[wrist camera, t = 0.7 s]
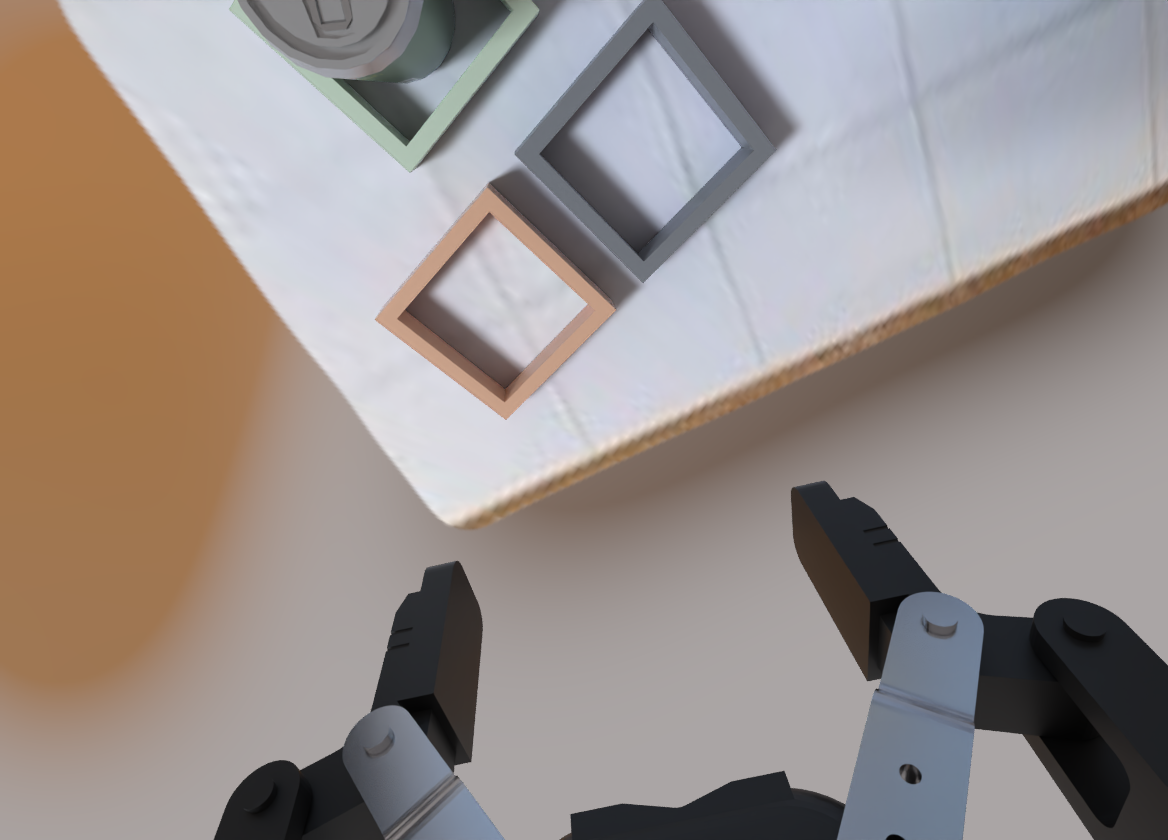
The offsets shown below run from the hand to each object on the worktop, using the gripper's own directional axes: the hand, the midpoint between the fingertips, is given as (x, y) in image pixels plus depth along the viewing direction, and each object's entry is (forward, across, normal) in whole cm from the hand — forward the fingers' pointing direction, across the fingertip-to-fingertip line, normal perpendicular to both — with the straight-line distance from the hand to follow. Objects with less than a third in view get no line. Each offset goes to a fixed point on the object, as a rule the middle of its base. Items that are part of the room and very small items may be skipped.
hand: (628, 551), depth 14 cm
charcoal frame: (+22, -5, -6) cm, 23 cm away
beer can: (+22, +5, -14) cm, 26 cm away
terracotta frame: (+22, +4, 0) cm, 22 cm away
